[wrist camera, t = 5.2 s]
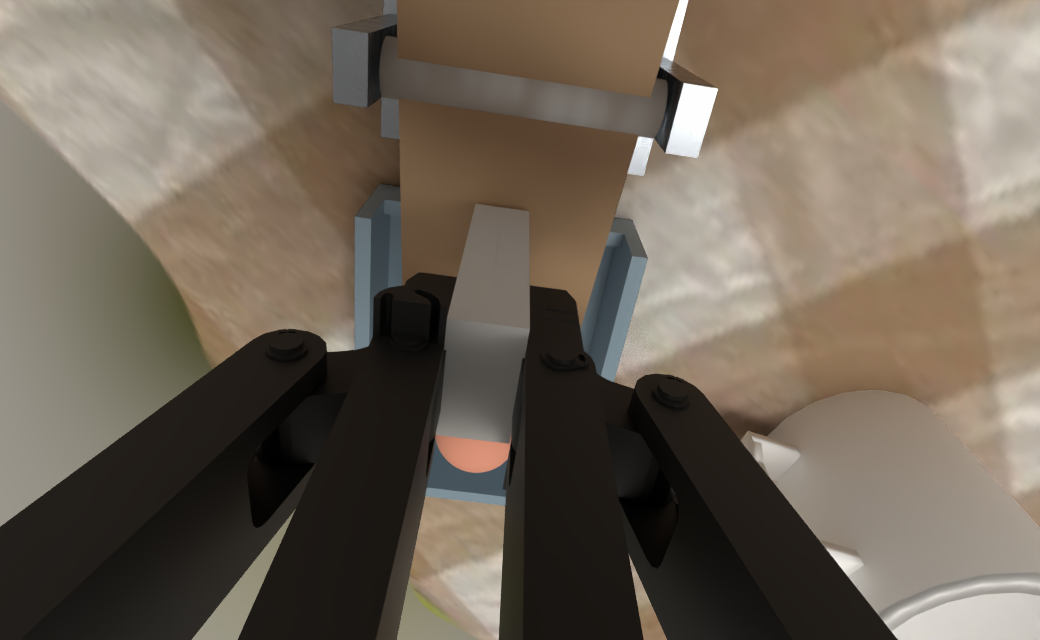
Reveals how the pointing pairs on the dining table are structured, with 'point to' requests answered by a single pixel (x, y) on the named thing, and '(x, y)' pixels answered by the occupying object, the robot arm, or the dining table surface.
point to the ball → (473, 453)
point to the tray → (599, 327)
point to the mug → (909, 516)
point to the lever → (522, 123)
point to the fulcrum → (361, 87)
